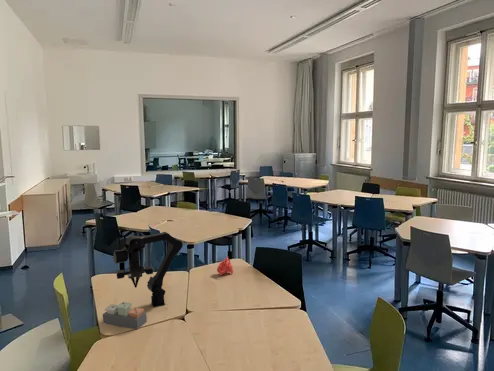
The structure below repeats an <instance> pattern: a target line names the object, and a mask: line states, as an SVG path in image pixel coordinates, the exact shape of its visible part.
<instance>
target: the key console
mask: <svg viewBox="0 0 494 371" xmlns="http://www.w3.org/2000/svg"><path fill="white" fill-rule="evenodd" d="M147 318H148V317H147V312H145V311H143V312H142V315H141V316H140V317H139V318H132V317H130V315H129V314H128V315H127V316H120V315H118V312H117V313H116V314H108V313H107V311H105V312H104V313H103V314H102V323H103V324H104V323H105V325H109V324H110V325H111V326H116V327H121V328H127V329H132V330H133V329H134V330H139V329H140V328H141V327H143V325H145V324H146V323H147V322H148V321H147V320H148V319H147Z"/></svg>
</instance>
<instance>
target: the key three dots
mask: <svg viewBox="0 0 494 371" xmlns="http://www.w3.org/2000/svg"><path fill="white" fill-rule="evenodd" d="M142 312H145V309H144V308H139V307H133V308H131V310H130V311H129V312H128V314H129V315H130V317H132V318H139V317H140V316H141V315H142Z"/></svg>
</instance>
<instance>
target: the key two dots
mask: <svg viewBox="0 0 494 371" xmlns="http://www.w3.org/2000/svg"><path fill="white" fill-rule="evenodd" d="M117 305H118V306H116V309H118V315H120V316H127V315H128V312H129V311H130V310H132V308H131V307H132V305H133V303H131V302H125V301H122V302H121V303H119V304H117Z"/></svg>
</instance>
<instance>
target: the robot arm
mask: <svg viewBox="0 0 494 371" xmlns="http://www.w3.org/2000/svg"><path fill="white" fill-rule="evenodd" d="M162 241H165V242H167V243H168V245H167V249H166V250H167V251H166V253H165V256H164V257H163V260H162V262H161V264H160V265H159V267H158V269H157V271H156V274H155V275H153V276H150V277H149V280H148V281H147V282H146V283H147V284H146V285H147V286H146V287H147V290H149V291H150V292H151V296H150V298H151V300H150V301H151V305H152V307H160V306H165V305H166V302H165V294H166V290H165V289H163V288H162V287H163V284H164V283H163V282H164V277H165V275H166V274H167V272H168V270H169V268H170V266H171V264H172V262H173V260H174V258H175V256H176V255H177V254H178V253H180V251H181V250H182V248H183V245H184V244H183V241H181V240H180V239H178V238H176V237H173V236H172V235H171V234H170V233H169V232H168V231H167V232H166V231H162V232H158V233H153V234H149V235H143V236H141V235H129V237H127V239H126V242H125V244H124V245H123V247H122V248H121V249H119V250H118V249H116V250H113V256H112V260H113V263H114V265H116V264H121V263H126V262H127V261H128V270H127V271H125V270H124V269H118V270H117V271H115V272H116V279H118V280H119V279H124V278H125V276H127V279H130V280H131V281H132V284H133V286H134V288H136V289H137V287H138V283H139V281H140V278H142V277H143V274H146V275H152V274H154V269H153V267H152V266H151V265H147V266H141V260H140V252H143V251H144V250H143V248H141V247H143V246H145V245H147V244H152V243H156V242H157V243H158V242H162Z"/></svg>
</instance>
